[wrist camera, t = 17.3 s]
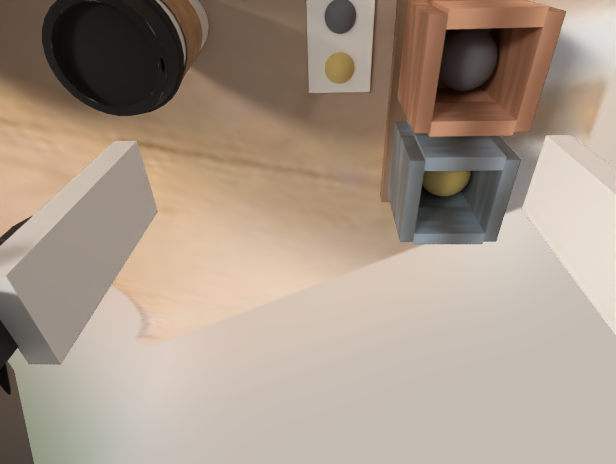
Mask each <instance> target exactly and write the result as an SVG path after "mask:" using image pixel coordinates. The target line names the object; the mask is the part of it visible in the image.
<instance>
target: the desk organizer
mask: <svg viewBox="0 0 616 464" xmlns="http://www.w3.org/2000/svg"><path fill="white" fill-rule="evenodd" d="M565 14H566V11H563V10H560V9H556V8H552V7H549V6H545V5H541V4H537V3H534V2H530V1H526V0H397V11H396V22H395V33H394V45H393V56H392V67H391V79H390V90H389V101H388V113H387V124H386V136H385V147H384V158H383V170H382V181H381V192H380V196H381V201H382V202H390V204H391V208H392V211H393V215H394V219H395V223H396V227H397V231H398V235H399V239H400V242H412V243H413V244H482V243H483V242H485V241H496V240H497V237H498V233H499V230H500V227H501V224H502V220H503V217H504V214H505V211H506V207H507V204H508V201H509V197H510V194H511V191H512V188H513V184H514V181H515V178H516V175H517V171H518V168H519V165H520V161H521V160H520V159H519V158H518V156H517V155H516V154H515V153H514V152H513V151H512V150H511V149H510V148H509V147H508V146H507V145H506V143H505V142H504V141H503V140H502V139H501V138H500V137H499V136H513V133H514V132H530V129H531V125H532V122H533V119H534V115H535V112H536V109H537V106H538V102H539V99H540V96H541V93H542V89H543V86H544V83H545V79H546V76H547V73H548V70H549V66H550V63H551V60H552V56H553V53H554V50H555V47H556V43H557V40H558V37H559V33H560V30H561V27H562V24H563V20H564V17H565ZM459 29H482V30H484V31H486V32H487V33H489V34H490V35H491V36H492V38H493V39H494V41H495V43H496V46H497V50H498V59H497V64H496V67H495V69H494V71H493V73H492V74H491V76H490V77H489V78H488V79H487V80H486V81H485V82H484V83H483V84H481V85H480V86H478V87H476V88H474V89H471V90H467V91H456V90H453V89H450V88H448V87H446V86H445V85H444V84H443V83H442V82H441V81H440V80H439V72H440V65H441V59H442V52H443V46H444V40H445V38H446V37H447V36H449V35H450V34H451V33H453V32H454V31H457V30H459ZM424 171H471V176H470V179H469V181H468V183H467V185H466V186H465V187H464V188H463V189H462V190H461V191H460V192H458V193H456V194H454V195H451V196H437V195H434V194H432V193H430V192H429V191H427V190H426V189H425V188H424V187H423V185H422V181H423V175H424Z"/></svg>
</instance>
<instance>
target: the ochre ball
mask: <svg viewBox="0 0 616 464" xmlns="http://www.w3.org/2000/svg"><path fill="white" fill-rule="evenodd" d="M470 176H471V171H424V175H423V181H422V185H423V187H424V188H425V189H426V190H427V191H429V192H430V193H432V194H434V195H437V196H451V195H454V194H456V193H458V192H460V191H461V190H462V189H463V188H464V187H465V186H466V185H467V183H468V181H469V179H470Z"/></svg>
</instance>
